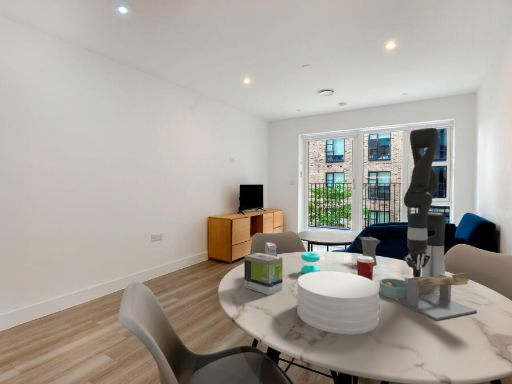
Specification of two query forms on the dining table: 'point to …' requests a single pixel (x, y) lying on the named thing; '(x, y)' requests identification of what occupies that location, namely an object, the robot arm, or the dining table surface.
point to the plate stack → (338, 302)
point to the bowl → (394, 288)
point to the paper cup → (365, 266)
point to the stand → (434, 302)
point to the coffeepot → (368, 246)
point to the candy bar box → (270, 249)
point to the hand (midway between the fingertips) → (416, 277)
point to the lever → (443, 280)
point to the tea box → (263, 273)
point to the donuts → (310, 258)
